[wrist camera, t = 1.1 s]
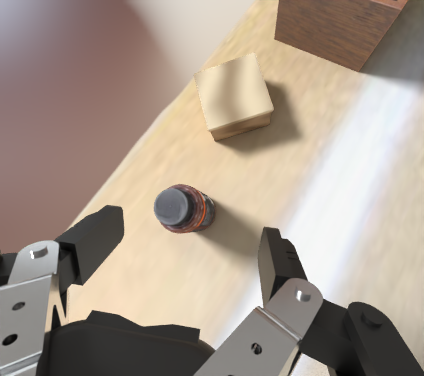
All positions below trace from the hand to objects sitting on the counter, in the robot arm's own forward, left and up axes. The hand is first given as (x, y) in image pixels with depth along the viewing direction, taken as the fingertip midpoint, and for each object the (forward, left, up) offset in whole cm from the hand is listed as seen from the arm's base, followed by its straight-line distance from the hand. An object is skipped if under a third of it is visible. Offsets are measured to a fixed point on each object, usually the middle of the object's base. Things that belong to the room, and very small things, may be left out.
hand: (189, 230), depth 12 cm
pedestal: (-6, -18, -21) cm, 28 cm away
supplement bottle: (+4, -3, -21) cm, 22 cm away
